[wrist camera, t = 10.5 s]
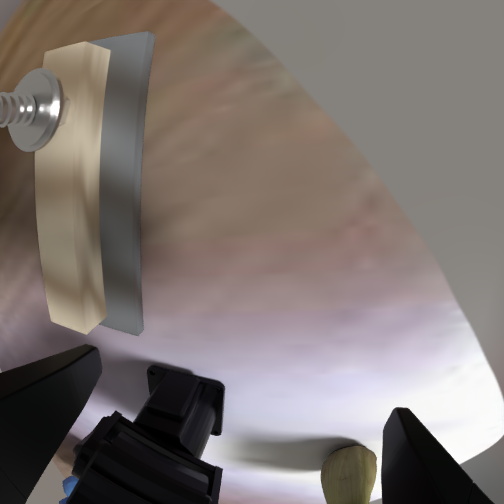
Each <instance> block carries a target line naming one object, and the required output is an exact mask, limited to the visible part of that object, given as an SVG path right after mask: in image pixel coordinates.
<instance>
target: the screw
mask: <svg viewBox="0 0 504 504" xmlns="http://www.w3.org/2000/svg"><path fill="white" fill-rule="evenodd" d="M69 104H70V99H69V98H68V97H67V96H66V95H65V94H64V93H63V87H62V83H61V81H60V79H59V77H58V75H57V74H56V73H55V72H54V71H52V70H50V69H46V68H38V69H35V70H32V71H31V72H29V73H28V74H27V75H26V76H25V77H24V78H23V79H22V80H21V81H20V83H19V84H18V85H17V87H16V88H15V90H14V92H10V93H6V92H1V93H0V127H1V128H3V127H5V126H6V125H7V126H8V129H9V133H10V135H11V138H12V140H13V142H14V143H15V145H16V146H17V147H18V148H19V149H21V150H22V151H25V152H33V151H38V150H40V149H42V148H43V147H45V146H46V145H47V144H48V143H49V142H50V140H51V139H52V137H53V136H54V134H55V132H56V130H57V128H59V127H60V126H62V125H64V124H65V123H66V120H67V114H68V109H69Z"/></svg>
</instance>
